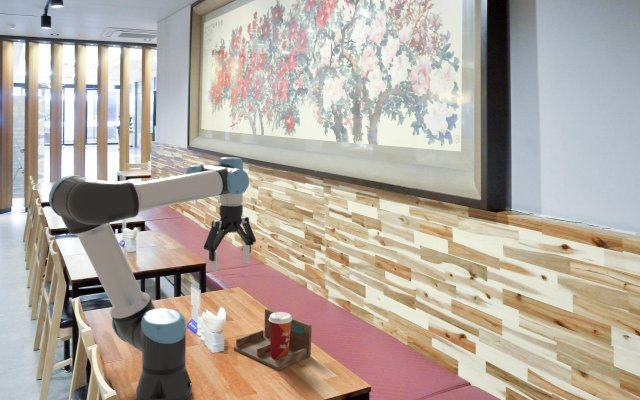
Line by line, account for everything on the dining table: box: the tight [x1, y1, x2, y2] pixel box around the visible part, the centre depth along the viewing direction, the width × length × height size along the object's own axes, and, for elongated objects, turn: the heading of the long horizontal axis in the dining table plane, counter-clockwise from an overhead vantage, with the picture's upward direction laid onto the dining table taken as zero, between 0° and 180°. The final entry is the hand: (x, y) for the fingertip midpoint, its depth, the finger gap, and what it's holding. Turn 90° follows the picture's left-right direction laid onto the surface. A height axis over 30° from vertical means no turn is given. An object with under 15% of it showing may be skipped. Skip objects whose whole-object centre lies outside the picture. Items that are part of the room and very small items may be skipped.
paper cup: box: [269, 311, 293, 360], centre depth 173 cm, size 8×8×14 cm
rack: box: [233, 308, 313, 371], centre depth 178 cm, size 15×22×11 cm
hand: (230, 266), depth 177 cm, fingers open, 13 cm apart
